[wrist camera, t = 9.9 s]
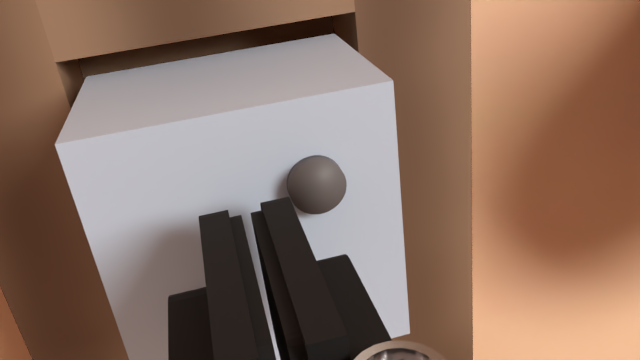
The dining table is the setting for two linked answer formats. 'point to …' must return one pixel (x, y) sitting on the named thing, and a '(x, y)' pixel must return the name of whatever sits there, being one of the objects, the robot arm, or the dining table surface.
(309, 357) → the robot arm
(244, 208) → the white die
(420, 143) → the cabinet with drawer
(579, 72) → the dining table surface
